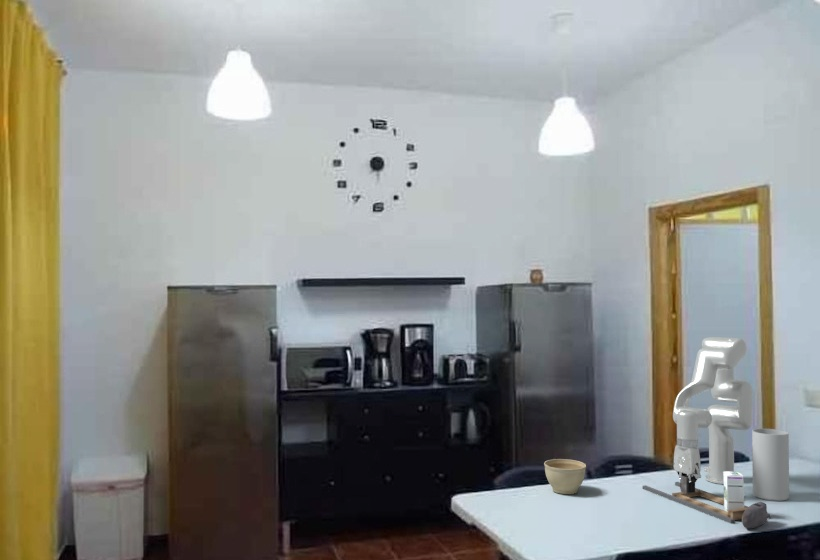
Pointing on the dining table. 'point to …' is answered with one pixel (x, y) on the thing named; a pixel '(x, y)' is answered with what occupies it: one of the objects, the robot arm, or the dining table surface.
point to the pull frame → (684, 495)
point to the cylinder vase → (770, 464)
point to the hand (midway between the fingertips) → (687, 490)
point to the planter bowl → (565, 475)
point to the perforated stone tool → (755, 515)
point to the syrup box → (733, 490)
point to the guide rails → (691, 503)
